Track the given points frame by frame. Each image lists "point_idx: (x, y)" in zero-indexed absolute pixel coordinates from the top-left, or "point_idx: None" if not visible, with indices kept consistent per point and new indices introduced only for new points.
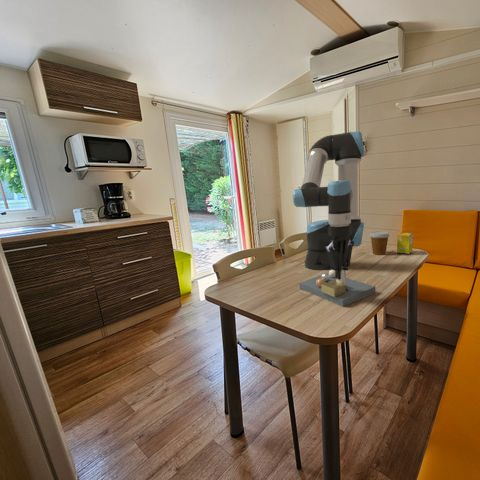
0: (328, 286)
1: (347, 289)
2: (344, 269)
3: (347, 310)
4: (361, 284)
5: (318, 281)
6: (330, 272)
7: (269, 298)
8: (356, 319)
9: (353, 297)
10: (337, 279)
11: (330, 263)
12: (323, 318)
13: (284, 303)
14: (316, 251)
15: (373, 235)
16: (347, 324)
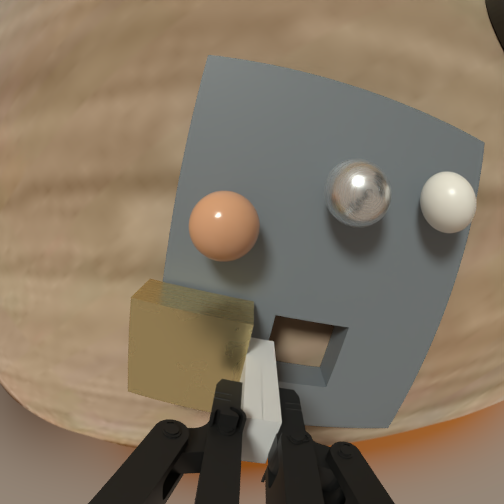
0: (133, 353)
1: (336, 332)
2: (266, 469)
3: (148, 399)
4: (391, 382)
5: (191, 229)
6: (436, 194)
7: (31, 67)
8: (120, 432)
9: None
10: (243, 375)
11: (122, 472)
12: (45, 353)
13: (24, 154)
14: None
15: None
16: (78, 418)
